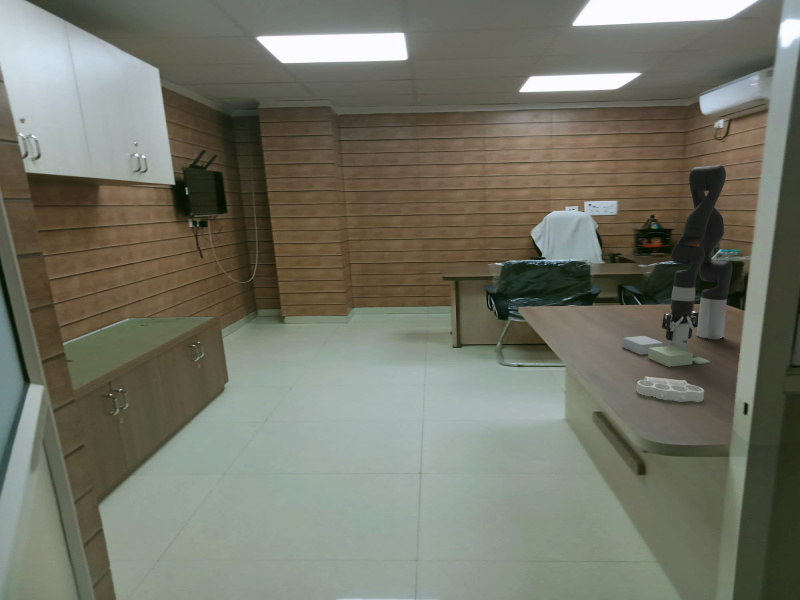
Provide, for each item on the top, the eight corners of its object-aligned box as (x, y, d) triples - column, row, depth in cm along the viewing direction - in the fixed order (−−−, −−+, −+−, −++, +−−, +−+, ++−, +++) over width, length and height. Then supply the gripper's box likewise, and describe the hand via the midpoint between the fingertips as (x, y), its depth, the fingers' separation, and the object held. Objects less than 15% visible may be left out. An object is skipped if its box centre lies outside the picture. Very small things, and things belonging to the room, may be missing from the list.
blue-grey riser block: (643, 345, 190) (644, 335, 189) (662, 352, 181) (663, 342, 180) (622, 347, 188) (623, 337, 187) (640, 354, 178) (641, 344, 178)
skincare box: (667, 353, 179) (670, 323, 177) (667, 350, 183) (670, 320, 181) (686, 355, 176) (689, 325, 174) (685, 352, 180) (689, 322, 178)
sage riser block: (670, 355, 177) (671, 345, 176) (691, 364, 167) (693, 353, 167) (647, 358, 175) (648, 347, 174) (668, 366, 165) (669, 356, 164)
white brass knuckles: (695, 388, 147) (708, 407, 133) (632, 382, 153) (638, 400, 139) (696, 379, 146) (709, 397, 133) (633, 372, 152) (639, 389, 139)
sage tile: (698, 358, 173) (698, 356, 173) (710, 362, 169) (710, 361, 168) (687, 359, 172) (687, 358, 172) (698, 364, 167) (698, 362, 167)
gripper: (690, 295, 181) (685, 335, 184) (659, 297, 177) (655, 337, 181) (706, 298, 173) (701, 340, 177) (675, 301, 170) (670, 343, 174)
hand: (678, 339), depth 179 cm, fingers open, 8 cm apart
